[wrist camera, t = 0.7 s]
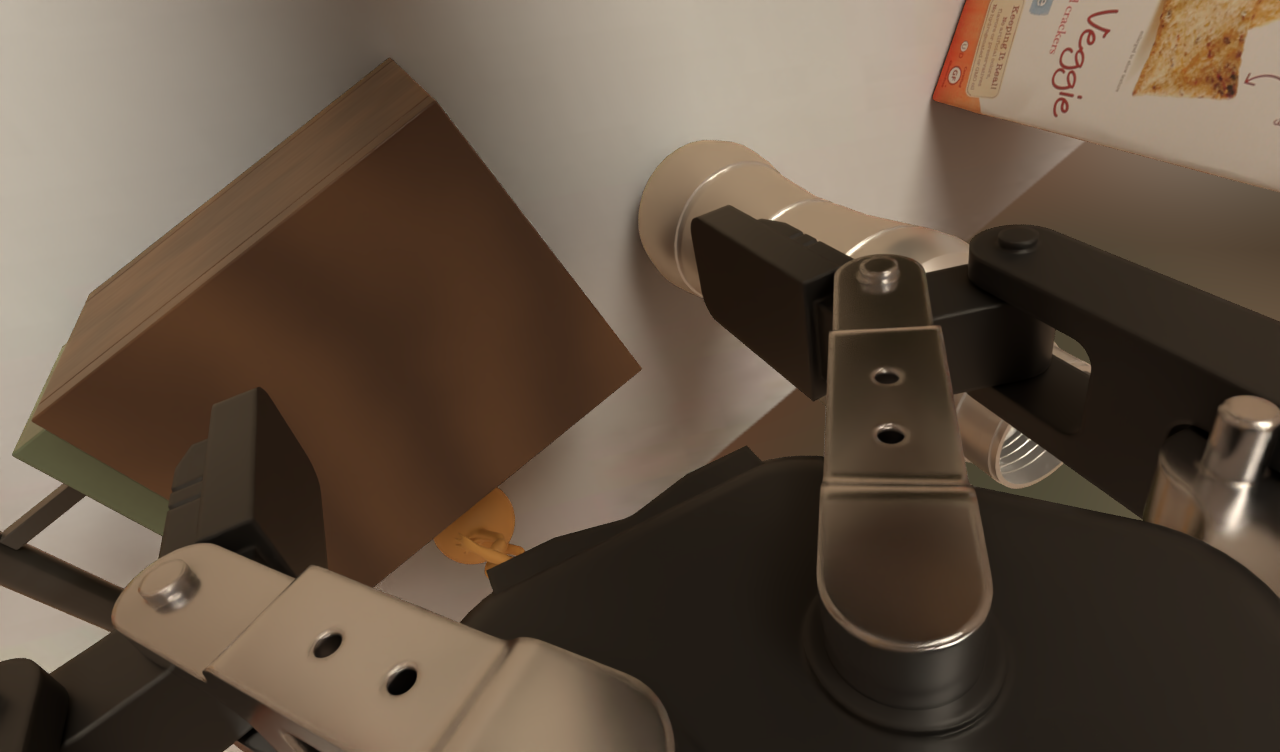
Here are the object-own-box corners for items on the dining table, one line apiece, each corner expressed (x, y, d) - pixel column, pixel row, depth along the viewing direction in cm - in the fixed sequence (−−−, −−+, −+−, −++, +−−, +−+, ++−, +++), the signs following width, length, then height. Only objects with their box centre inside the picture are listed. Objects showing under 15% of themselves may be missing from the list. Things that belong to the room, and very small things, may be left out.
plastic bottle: (622, 280, 35) (922, 565, 19) (622, 133, 31) (989, 335, 16) (739, 260, 37) (1093, 499, 21) (751, 121, 33) (1185, 286, 18)
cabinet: (332, 469, 33) (351, 606, 26) (88, 294, 26) (29, 421, 19) (565, 281, 33) (643, 369, 27) (389, 56, 26) (435, 99, 19)
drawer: (190, 581, 32) (176, 710, 27) (-70, 450, 25) (-156, 587, 20) (515, 319, 32) (566, 395, 27) (343, 124, 26) (365, 174, 20)
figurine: (373, 484, 34) (416, 691, 25) (466, 398, 34) (546, 573, 25) (489, 557, 40) (561, 751, 30) (571, 483, 39) (669, 654, 30)
